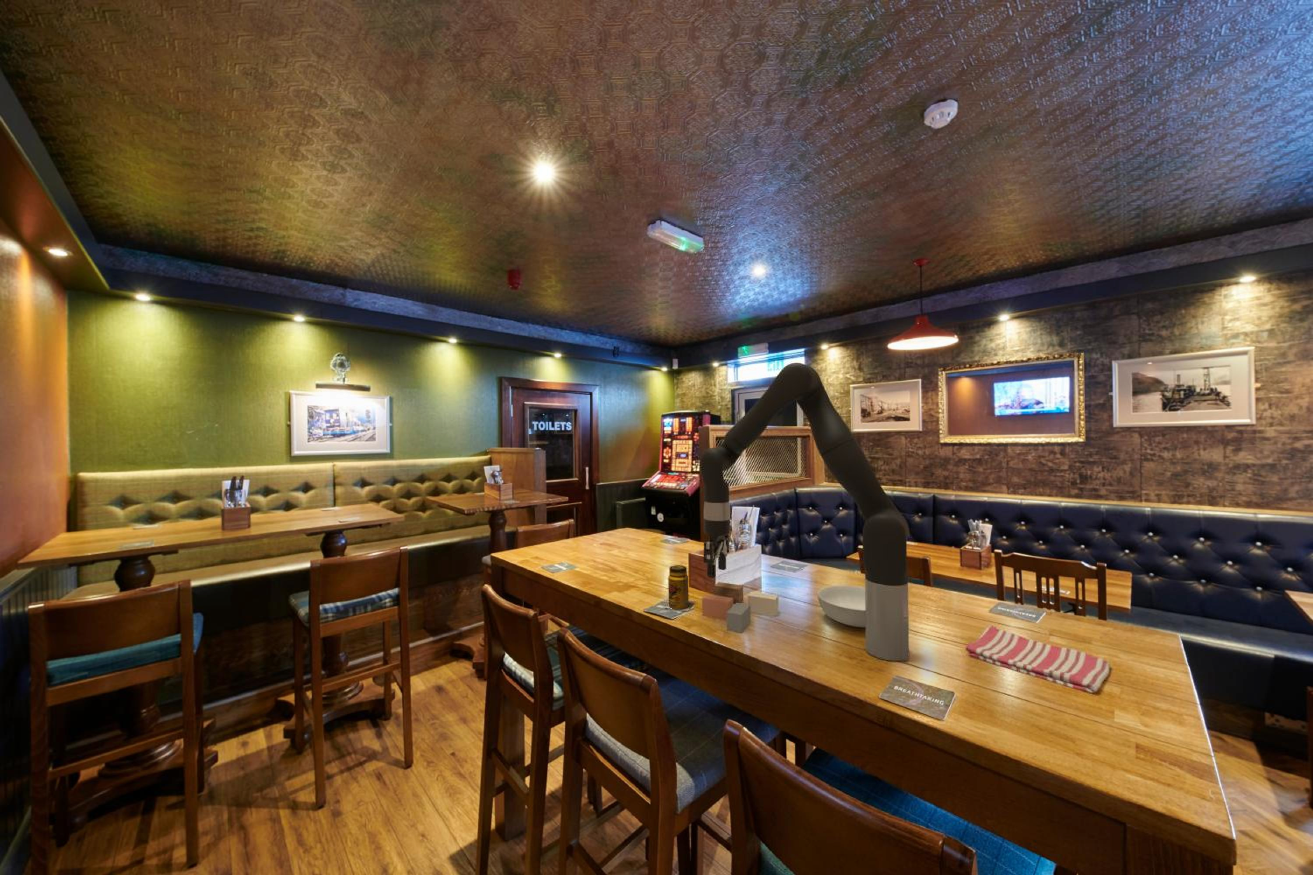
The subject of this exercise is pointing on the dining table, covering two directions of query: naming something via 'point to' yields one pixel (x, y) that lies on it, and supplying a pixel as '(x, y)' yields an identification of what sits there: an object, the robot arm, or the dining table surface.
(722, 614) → the terracotta brick
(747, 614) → the slate brick
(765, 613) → the cream brick
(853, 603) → the serving bowl
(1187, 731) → the dining table surface
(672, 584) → the condiment
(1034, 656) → the dish towel
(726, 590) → the walnut brick
